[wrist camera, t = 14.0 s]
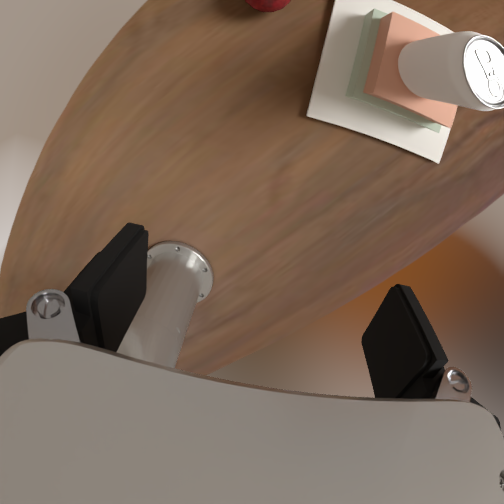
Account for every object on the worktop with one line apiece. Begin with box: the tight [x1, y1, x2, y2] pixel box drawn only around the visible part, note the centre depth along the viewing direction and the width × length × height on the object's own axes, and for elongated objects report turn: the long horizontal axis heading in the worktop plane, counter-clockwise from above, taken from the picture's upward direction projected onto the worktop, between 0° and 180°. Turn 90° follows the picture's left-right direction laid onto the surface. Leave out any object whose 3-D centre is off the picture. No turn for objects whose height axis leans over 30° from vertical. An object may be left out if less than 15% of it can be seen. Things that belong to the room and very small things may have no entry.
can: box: [398, 31, 504, 111], centre depth 17 cm, size 6×6×12 cm
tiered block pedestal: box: [306, 0, 458, 163], centre depth 26 cm, size 20×20×9 cm
